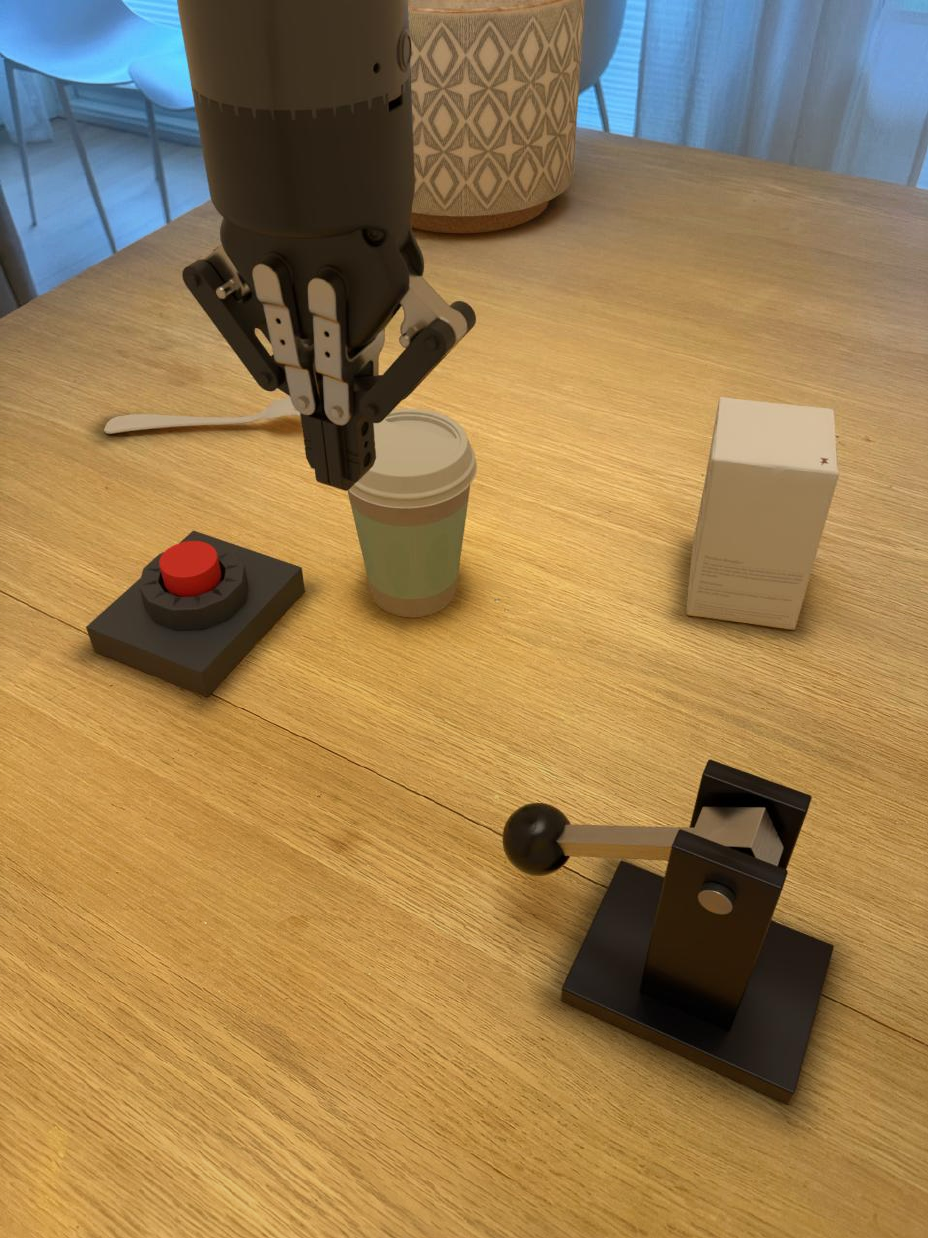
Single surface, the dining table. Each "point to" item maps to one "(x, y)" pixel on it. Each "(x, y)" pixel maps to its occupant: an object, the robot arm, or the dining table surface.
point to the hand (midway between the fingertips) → (343, 477)
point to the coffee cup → (414, 511)
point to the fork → (195, 419)
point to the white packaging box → (762, 511)
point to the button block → (198, 618)
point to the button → (190, 569)
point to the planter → (492, 109)
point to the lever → (628, 837)
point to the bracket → (709, 948)
